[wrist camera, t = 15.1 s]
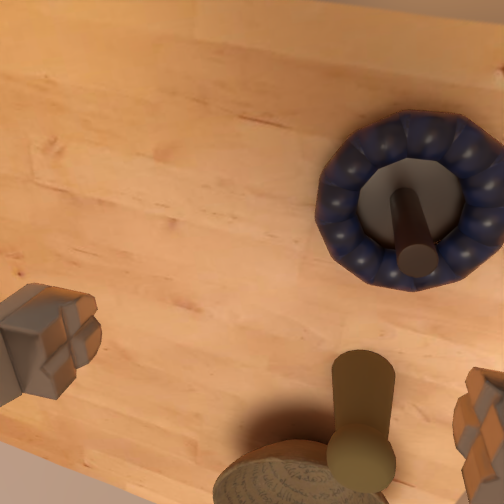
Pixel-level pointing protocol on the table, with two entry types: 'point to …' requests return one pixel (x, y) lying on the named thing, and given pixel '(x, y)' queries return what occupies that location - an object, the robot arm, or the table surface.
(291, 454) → the bowl
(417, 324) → the table surface
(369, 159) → the ring
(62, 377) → the robot arm
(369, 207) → the post
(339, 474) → the olive game pawn
